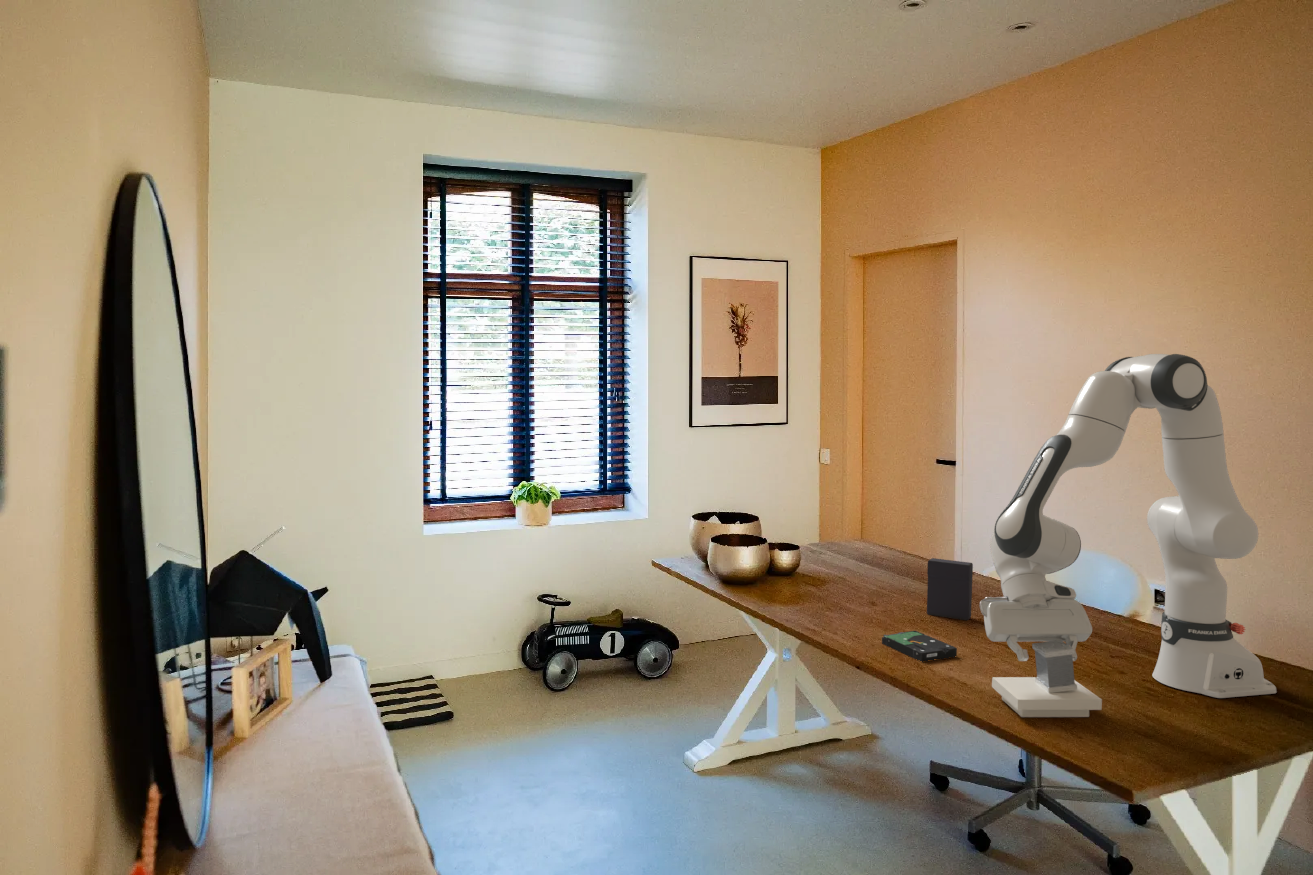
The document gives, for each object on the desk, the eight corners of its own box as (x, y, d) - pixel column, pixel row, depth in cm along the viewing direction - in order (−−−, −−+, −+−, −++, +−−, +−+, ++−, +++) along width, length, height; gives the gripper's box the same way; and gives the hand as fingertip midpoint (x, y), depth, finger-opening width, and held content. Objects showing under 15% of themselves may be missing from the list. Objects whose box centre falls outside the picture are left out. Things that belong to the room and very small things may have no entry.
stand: (1069, 696, 178) (1070, 677, 177) (1100, 719, 166) (1101, 699, 165) (991, 696, 177) (992, 677, 177) (1017, 720, 165) (1017, 699, 165)
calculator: (971, 617, 234) (973, 562, 233) (967, 621, 231) (969, 565, 230) (930, 611, 240) (932, 557, 239) (925, 614, 237) (927, 560, 235)
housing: (1063, 679, 174) (1060, 640, 174) (1077, 689, 169) (1074, 649, 168) (1035, 682, 174) (1032, 643, 173) (1048, 692, 169) (1045, 652, 168)
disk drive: (957, 659, 202) (914, 640, 216) (958, 647, 202) (915, 629, 215) (921, 665, 198) (880, 645, 212) (922, 652, 198) (880, 633, 211)
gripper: (981, 589, 177) (1000, 652, 168) (1082, 589, 177) (1106, 652, 168) (972, 604, 181) (990, 667, 172) (1070, 604, 182) (1092, 666, 173)
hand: (1048, 659), depth 170 cm, fingers open, 8 cm apart
